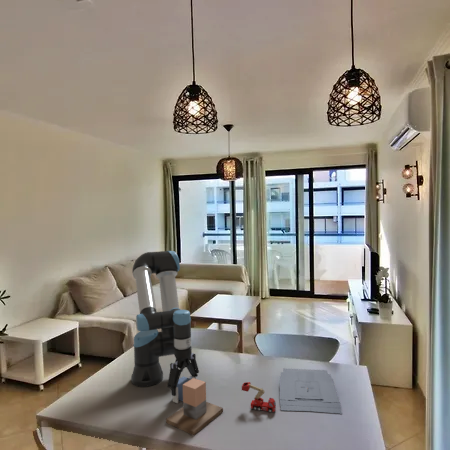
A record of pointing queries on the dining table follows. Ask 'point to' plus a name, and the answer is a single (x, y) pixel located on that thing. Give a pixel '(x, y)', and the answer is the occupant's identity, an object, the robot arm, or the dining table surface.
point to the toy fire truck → (260, 399)
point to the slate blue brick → (181, 387)
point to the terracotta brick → (194, 392)
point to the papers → (308, 391)
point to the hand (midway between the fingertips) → (184, 396)
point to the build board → (194, 423)
